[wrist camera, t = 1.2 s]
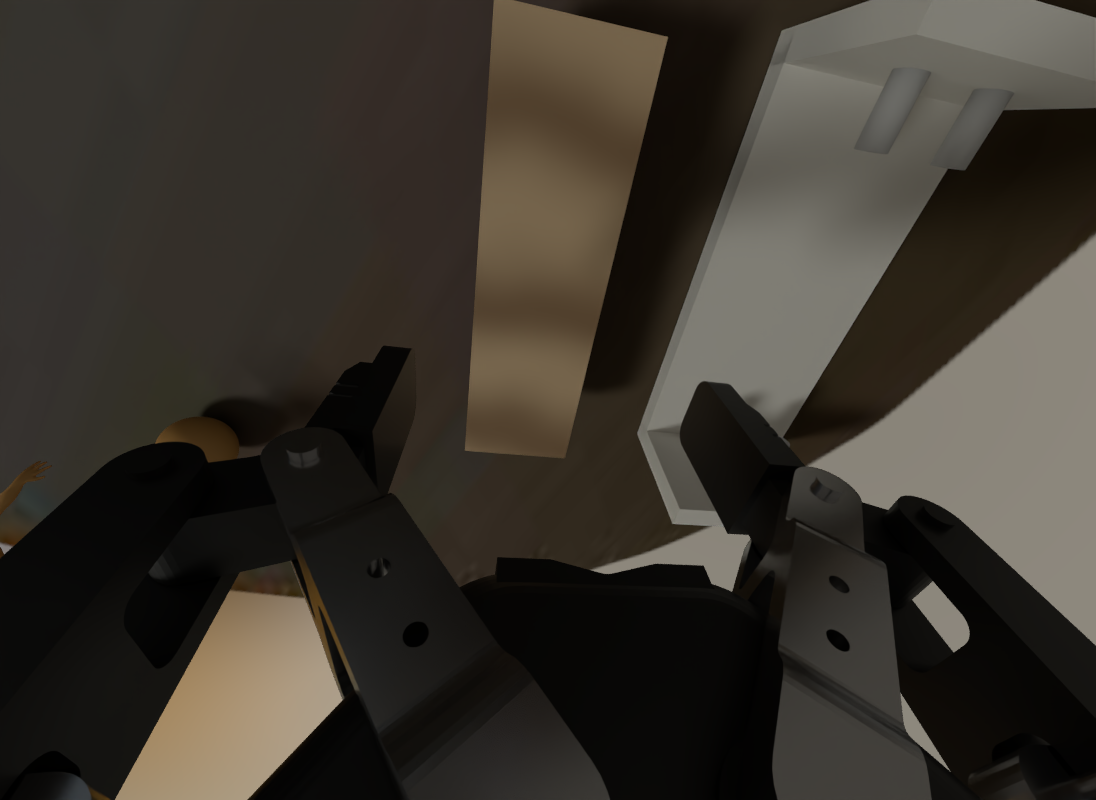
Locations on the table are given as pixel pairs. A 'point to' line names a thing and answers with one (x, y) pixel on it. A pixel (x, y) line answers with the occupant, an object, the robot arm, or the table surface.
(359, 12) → the table surface
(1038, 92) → the shelf frame
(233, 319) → the table surface
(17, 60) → the table surface
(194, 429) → the figurine
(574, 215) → the shelf board
